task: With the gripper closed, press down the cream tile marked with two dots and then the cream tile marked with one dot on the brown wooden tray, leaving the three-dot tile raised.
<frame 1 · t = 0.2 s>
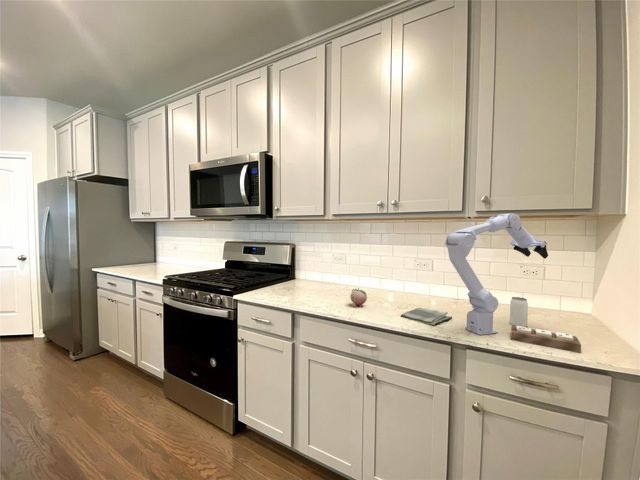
hand: (537, 255, 123), 31 cm above the counter, tool tilted 45°, fingers open, 7 cm apart
three dot tile: (523, 331, 110), point 3 cm above the counter, slide at 0.0 cm
brown wooden tray: (542, 341, 106), on the counter
decorative fruit: (358, 306, 154), on the counter
dish towel: (426, 319, 135), on the counter
can: (518, 325, 126), on the counter
one dot tile: (543, 335, 106), point 3 cm above the counter, slide at 0.0 cm
two dot tile: (563, 338, 103), point 3 cm above the counter, slide at 0.0 cm
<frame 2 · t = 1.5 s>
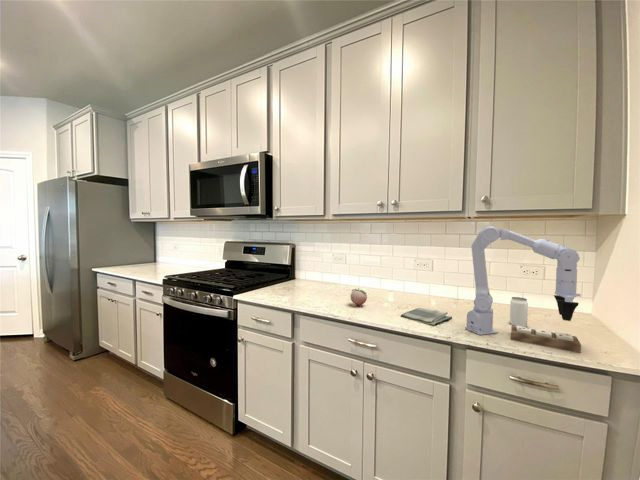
hand: (564, 317, 103), 10 cm above the counter, tool pointing down, fingers open, 7 cm apart
nothing on the counter moved.
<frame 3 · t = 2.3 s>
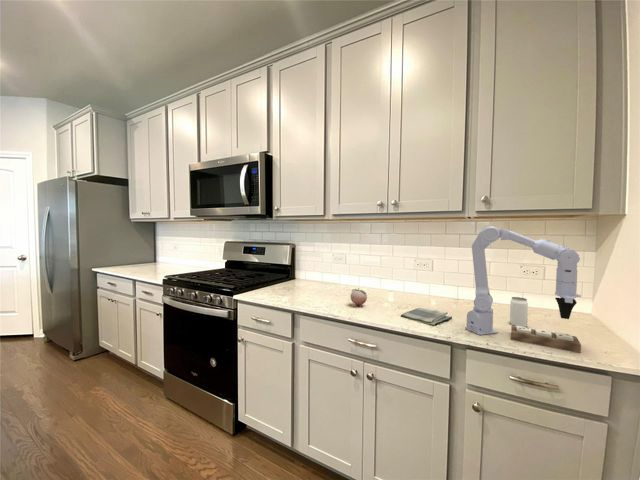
hand: (564, 318, 103), 10 cm above the counter, tool pointing down, fingers closed
nothing on the counter moved.
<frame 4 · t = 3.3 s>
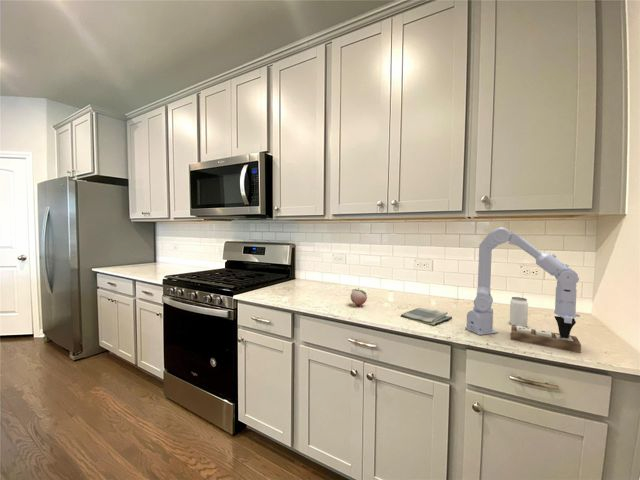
hand: (564, 337, 103), 3 cm above the counter, tool pointing down, fingers closed, pressing on two dot tile
two dot tile: (563, 341, 103), point 2 cm above the counter, slide at 0.9 cm, touching gripper
everything else where it was.
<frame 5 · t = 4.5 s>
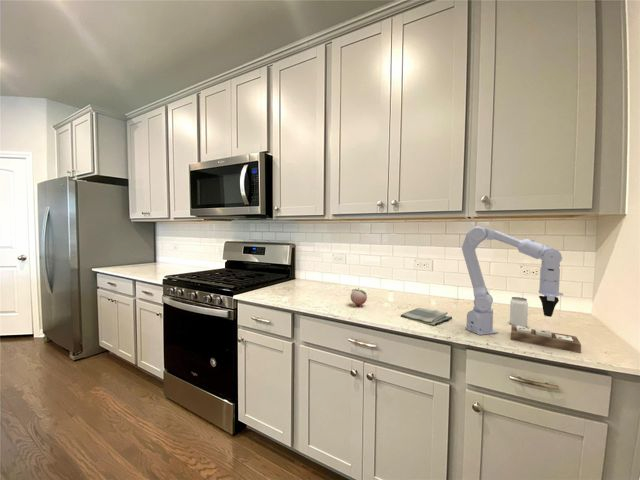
hand: (547, 315, 105), 10 cm above the counter, tool pointing down, fingers closed
two dot tile: (563, 341, 103), point 2 cm above the counter, slide at 0.9 cm
everything else where it was.
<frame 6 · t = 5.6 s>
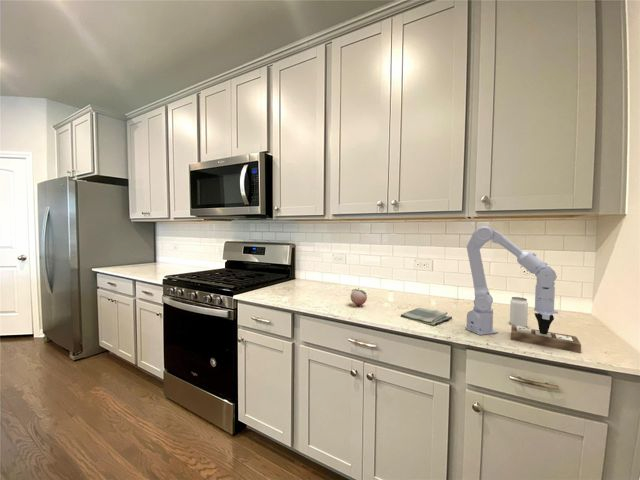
hand: (543, 333, 106), 3 cm above the counter, tool pointing down, fingers closed, pressing on one dot tile
one dot tile: (543, 337, 106), point 2 cm above the counter, slide at 0.7 cm, touching gripper
everything else where it was.
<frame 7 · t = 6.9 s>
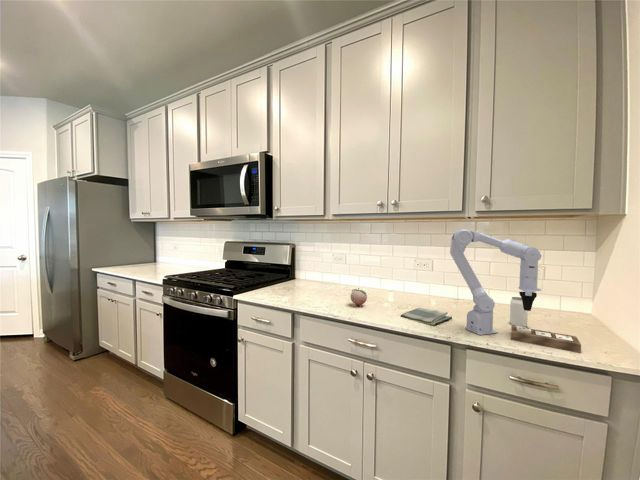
hand: (527, 310, 112), 10 cm above the counter, tool pointing down, fingers closed
one dot tile: (543, 337, 106), point 2 cm above the counter, slide at 0.9 cm
everything else where it was.
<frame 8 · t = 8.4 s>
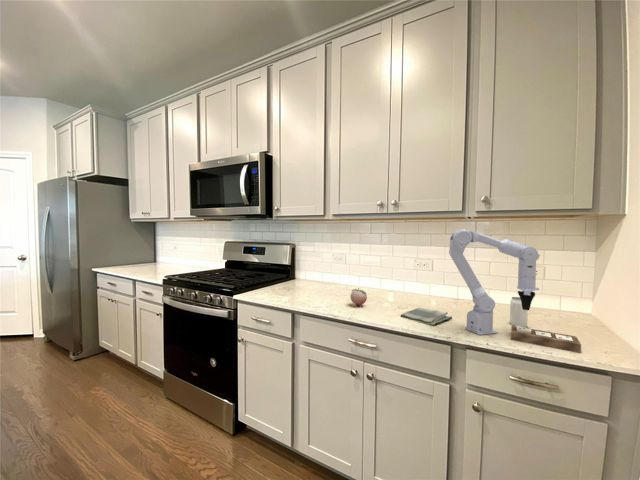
hand: (525, 309, 113), 10 cm above the counter, tool pointing down, fingers closed
nothing on the counter moved.
at the end: two dot tile slide at 0.9 cm; one dot tile slide at 0.9 cm; three dot tile slide at 0.0 cm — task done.
